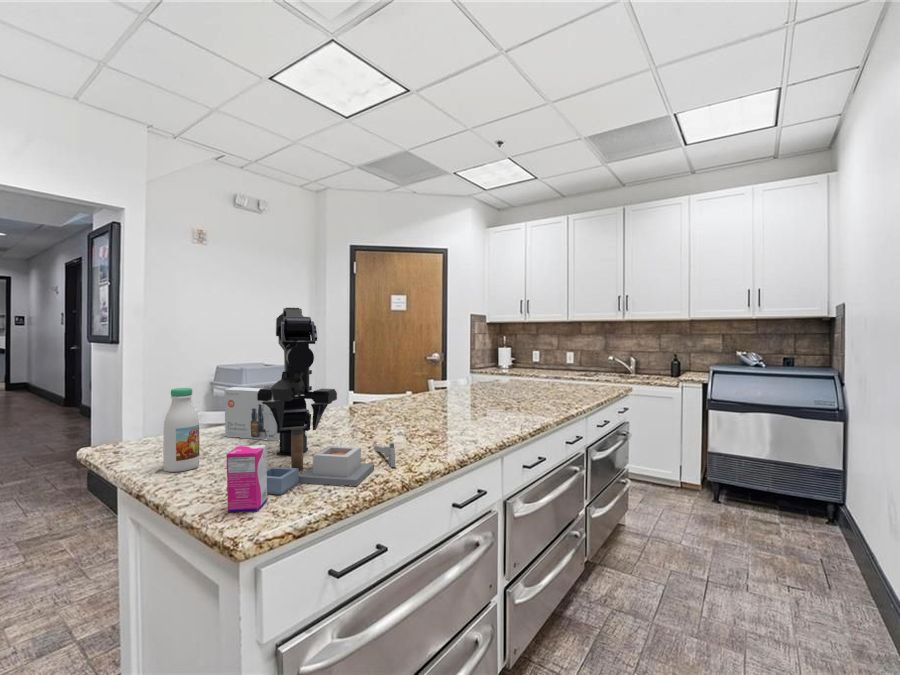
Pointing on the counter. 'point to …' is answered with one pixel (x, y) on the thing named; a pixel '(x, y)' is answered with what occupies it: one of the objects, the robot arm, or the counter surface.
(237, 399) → the skincare box
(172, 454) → the milk bottle
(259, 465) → the supplement box
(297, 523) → the counter surface
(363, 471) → the grey square holder
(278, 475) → the blue square tray
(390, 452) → the caliper
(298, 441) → the brown wooden cylinder
